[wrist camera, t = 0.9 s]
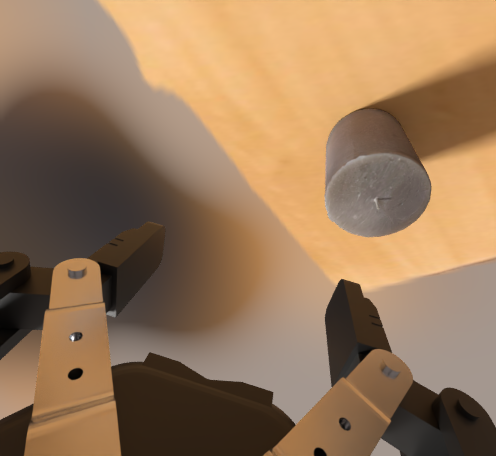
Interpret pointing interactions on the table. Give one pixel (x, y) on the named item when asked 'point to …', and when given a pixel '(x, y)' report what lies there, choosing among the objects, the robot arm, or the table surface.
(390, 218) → the pillar candle
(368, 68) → the table surface
